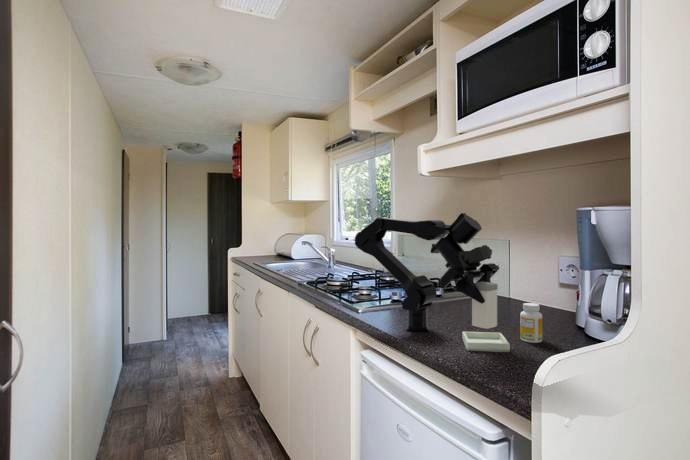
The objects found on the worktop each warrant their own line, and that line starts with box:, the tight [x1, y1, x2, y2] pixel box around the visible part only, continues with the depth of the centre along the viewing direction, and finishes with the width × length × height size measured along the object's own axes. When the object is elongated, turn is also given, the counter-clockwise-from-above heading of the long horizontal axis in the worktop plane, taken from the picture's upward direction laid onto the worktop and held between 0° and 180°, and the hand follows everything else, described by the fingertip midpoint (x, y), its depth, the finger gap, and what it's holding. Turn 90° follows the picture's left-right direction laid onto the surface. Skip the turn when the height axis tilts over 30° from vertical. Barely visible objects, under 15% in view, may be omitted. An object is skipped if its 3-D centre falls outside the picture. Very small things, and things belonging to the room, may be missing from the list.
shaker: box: [471, 282, 498, 330], centre depth 104 cm, size 4×4×11 cm
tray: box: [461, 331, 511, 353], centre depth 104 cm, size 10×10×2 cm
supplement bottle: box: [519, 302, 543, 344], centre depth 108 cm, size 5×5×10 cm
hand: (489, 301), depth 103 cm, fingers closed on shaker, 4 cm apart
